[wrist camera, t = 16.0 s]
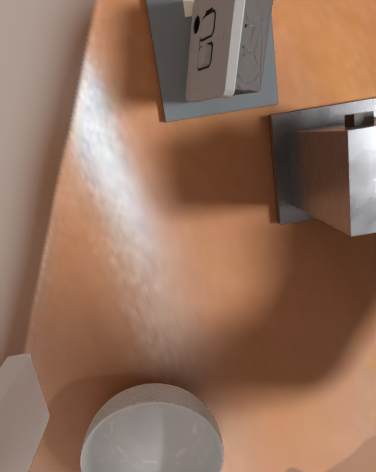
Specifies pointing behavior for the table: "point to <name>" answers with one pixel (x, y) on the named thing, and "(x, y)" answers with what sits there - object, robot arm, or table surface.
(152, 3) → the pad
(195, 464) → the cereal bowl
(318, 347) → the table surface
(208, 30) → the electrical switch
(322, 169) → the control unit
